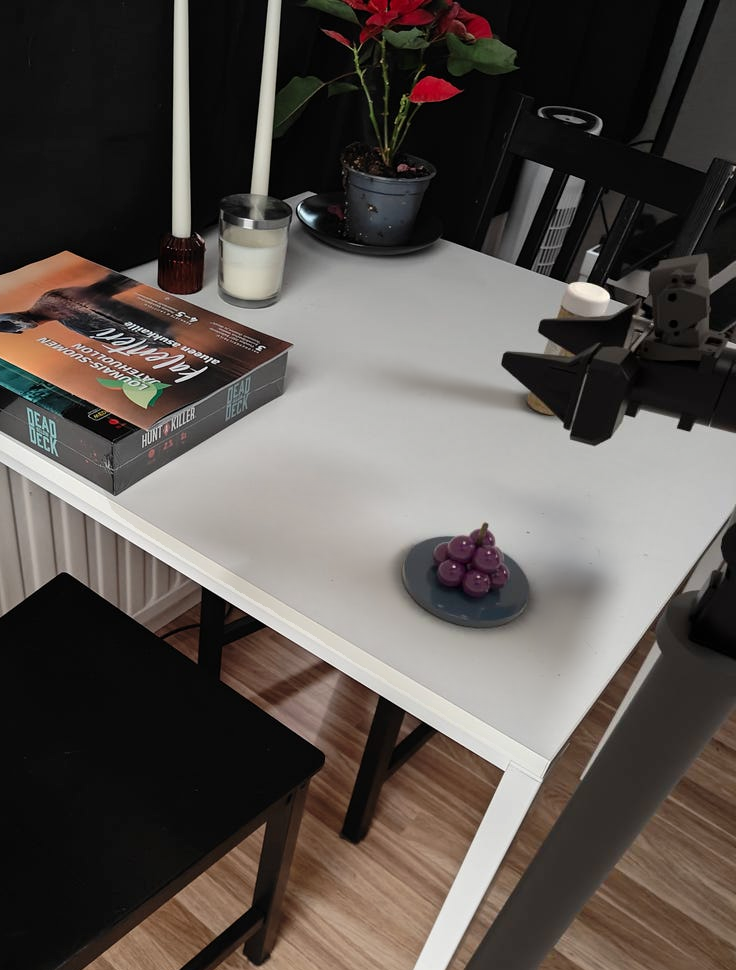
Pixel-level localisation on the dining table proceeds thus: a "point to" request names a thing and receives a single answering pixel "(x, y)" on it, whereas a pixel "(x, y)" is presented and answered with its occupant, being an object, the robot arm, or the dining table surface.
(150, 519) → the dining table surface
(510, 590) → the grapes
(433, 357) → the dining table surface
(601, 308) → the sprinkles bottle
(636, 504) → the dining table surface
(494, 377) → the dining table surface
